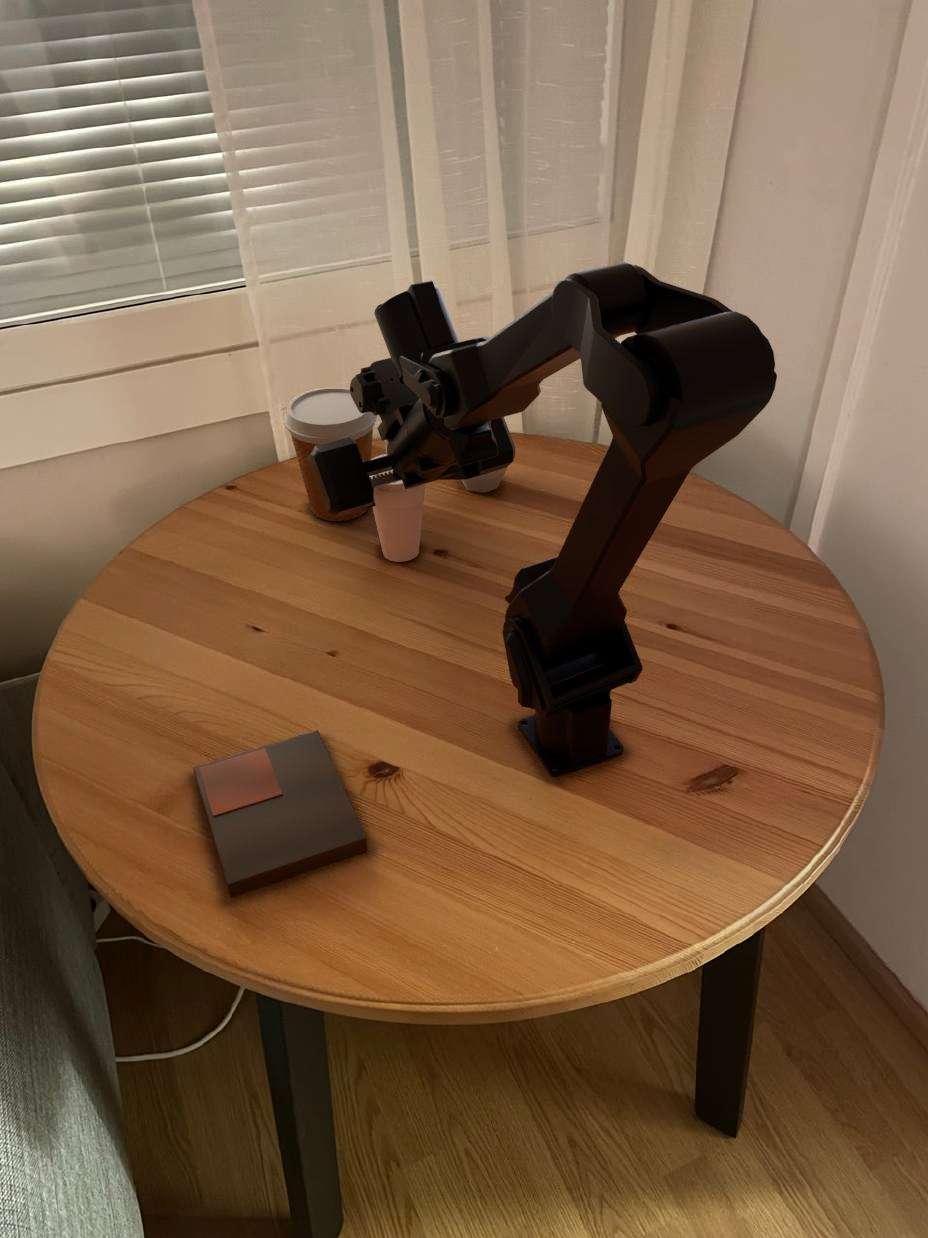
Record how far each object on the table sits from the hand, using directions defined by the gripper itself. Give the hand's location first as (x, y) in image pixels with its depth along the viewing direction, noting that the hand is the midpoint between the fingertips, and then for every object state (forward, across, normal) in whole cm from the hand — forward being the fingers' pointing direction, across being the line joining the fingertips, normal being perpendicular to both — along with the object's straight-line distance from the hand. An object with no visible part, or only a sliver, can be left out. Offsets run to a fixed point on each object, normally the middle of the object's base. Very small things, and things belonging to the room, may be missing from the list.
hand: (390, 484), depth 99 cm
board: (-15, +23, +25) cm, 37 cm away
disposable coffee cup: (+12, +2, -2) cm, 12 cm away
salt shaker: (+10, -14, +1) cm, 17 cm away
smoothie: (+4, 0, +6) cm, 7 cm away
